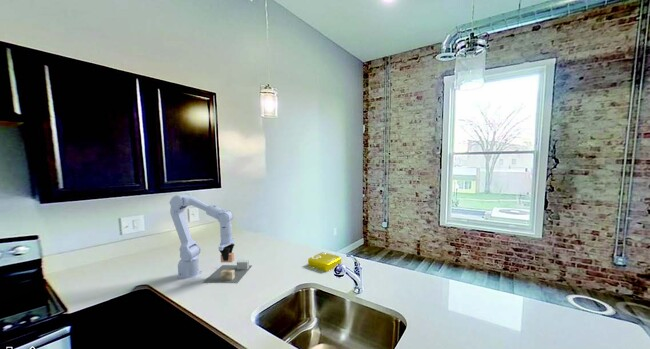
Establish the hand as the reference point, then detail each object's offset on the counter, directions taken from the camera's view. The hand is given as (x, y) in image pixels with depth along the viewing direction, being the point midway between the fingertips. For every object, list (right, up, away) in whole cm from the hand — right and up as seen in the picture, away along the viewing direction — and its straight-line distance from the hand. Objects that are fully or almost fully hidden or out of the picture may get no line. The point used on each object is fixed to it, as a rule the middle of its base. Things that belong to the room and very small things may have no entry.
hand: (227, 259), depth 137 cm
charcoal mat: (0, -9, +2) cm, 9 cm away
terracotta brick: (0, -1, 0) cm, 1 cm away
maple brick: (+2, -9, -4) cm, 10 cm away
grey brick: (+6, -8, +9) cm, 13 cm away
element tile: (+52, -8, +14) cm, 54 cm away
